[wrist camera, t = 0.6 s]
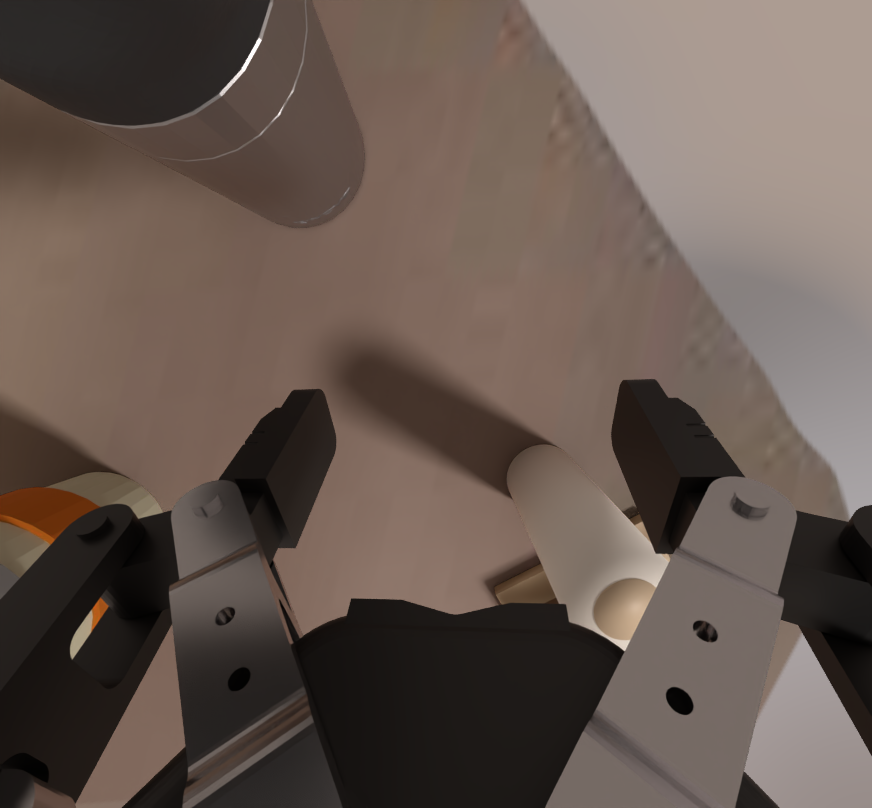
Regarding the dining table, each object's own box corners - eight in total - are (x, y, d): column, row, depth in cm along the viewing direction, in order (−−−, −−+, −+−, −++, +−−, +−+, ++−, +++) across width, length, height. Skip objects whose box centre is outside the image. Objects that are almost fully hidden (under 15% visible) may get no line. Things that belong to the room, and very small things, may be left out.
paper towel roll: (494, 465, 34) (547, 592, 19) (557, 431, 33) (662, 535, 18) (525, 520, 35) (598, 679, 20) (587, 489, 34) (708, 628, 20)
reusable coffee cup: (24, 437, 32) (-309, 550, 18) (192, 463, 33) (7, 590, 18) (31, 580, 35) (-250, 778, 20) (186, 600, 36) (21, 805, 21)
